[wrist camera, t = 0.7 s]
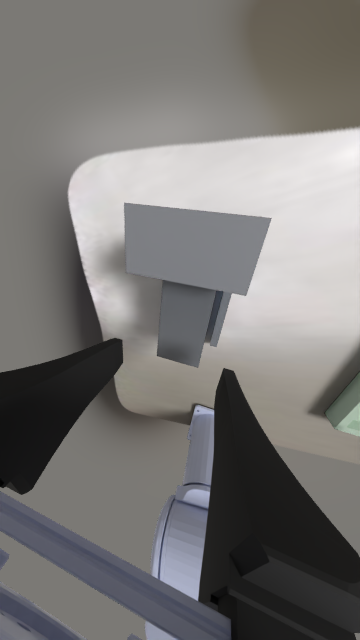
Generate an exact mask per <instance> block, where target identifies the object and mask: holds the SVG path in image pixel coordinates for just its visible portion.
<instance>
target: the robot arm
mask: <svg viewBox="0 0 360 640" xmlns="http://www.w3.org/2000/svg"><path fill="white" fill-rule="evenodd" d="M122 363H123V347H122V340H121V339H117V338H113V339H110V340H107V341H105V342H102V343H100V344H97V345H95V346H92V347H90V348H87V349H84V350H82V351H79V352H76V353H73V354H71V355H68V356H65V357H62V358H59V359H56V360H52V361H49V362H45V363H42V364H38V365H34V366H29V367H25V368H21V369H17V370H12V371H7V372H1V373H0V487H2V488H4V487H8V488H10V489H11V490H14V491H15V492H17V493H19V494H21V495H22V494H25V493H27V492H29V491H30V490H32V489H33V487H34V485H35V483H36V482H37V480H38V479H39V477H40V475H41V474H42V472H43V471H44V469H45V467H46V466H47V464H48V462H49V461H50V459H51V458H52V456H53V455H54V453H55V452H56V450H57V448H58V447H59V446H60V444H61V442H62V441H63V439H64V438H65V436H66V435H67V434H68V432H69V430H70V429H71V428H72V426H73V425H74V423H75V422H76V421H77V419H78V418H79V416H80V415H81V414H82V412H83V411H84V410H85V408H86V407H87V406H88V405H89V403H90V402H91V401H92V400H93V399H94V398H95V397H96V395H97V394H98V393H99V392H100V391H101V390H102V389H103V387H104V386H105V385H106V384H107V383H108V382H109V381H110V379H111V378H112V377H113V376H114V375H115V373H116V372H117V371H118V369H119V368H120V366H121V365H122ZM187 439H188V440H190V446H189V451H188V457H187V462H186V468H185V473H184V478H183V484H182V486H180V485H178V486H177V491H176V495H171V496H170V497H169V498H168V500H167V501H166V502H165V504H164V506H163V507H162V510H161V512H160V515H159V518H158V522H157V526H156V530H155V534H154V539H153V545H152V553H151V575H150V574H148V573H146V572H145V571H143V570H141V569H139V568H137V567H136V566H134V565H132V564H130V563H128V562H127V561H125V560H123V559H121V558H119V557H118V556H116V555H114V554H112V553H110V552H109V551H107V550H105V549H103V548H101V547H100V546H98V545H96V544H94V543H92V542H90V541H89V540H87V539H85V538H83V537H82V536H80V535H78V534H76V533H74V532H73V531H71V530H69V529H67V528H65V527H64V526H62V525H60V524H58V523H56V522H55V521H53V520H51V519H49V518H47V517H46V516H44V515H42V514H40V513H38V512H37V511H35V510H33V509H31V508H30V507H28V506H26V505H24V504H22V503H20V502H19V501H17V500H15V499H13V498H12V497H10V496H8V495H6V494H4V493H2V492H1V491H0V531H1V532H3V533H5V534H6V535H8V536H9V537H11V538H13V539H14V540H16V541H17V542H19V543H21V544H22V545H24V546H26V547H27V548H29V549H31V550H32V551H34V552H35V553H37V554H39V555H40V556H42V557H43V558H45V559H47V560H48V561H50V562H52V563H53V564H55V565H56V566H58V567H60V568H61V569H63V570H65V571H66V572H68V573H69V574H71V575H73V576H74V577H76V578H78V579H79V580H81V581H83V582H84V583H86V584H87V585H89V586H91V587H92V588H94V589H95V590H97V591H99V592H100V593H102V594H104V595H105V596H107V597H108V598H110V599H112V600H113V601H115V602H117V603H118V604H120V605H122V606H123V607H125V608H126V609H128V610H130V611H131V612H133V613H135V614H136V615H138V616H139V617H141V618H143V619H144V620H146V623H145V633H146V637H147V640H356V637H355V634H354V633H360V557H359V555H358V553H357V552H356V551H355V550H354V549H353V547H352V546H351V545H350V544H349V543H348V542H347V540H346V539H345V538H344V537H343V536H342V534H341V533H340V532H339V531H338V530H337V529H336V527H335V526H334V525H333V524H332V523H331V521H330V520H329V519H328V518H327V517H326V515H325V514H324V513H323V512H322V511H321V510H320V508H319V507H318V506H317V505H316V503H315V502H314V501H313V500H312V498H311V497H310V496H309V495H308V493H307V492H306V491H305V489H304V488H303V487H302V486H301V484H300V483H299V482H298V480H297V479H296V478H295V476H294V475H293V473H292V472H291V471H290V469H289V468H288V467H287V465H286V464H285V462H284V461H283V460H282V458H281V457H280V456H279V454H278V453H277V451H276V450H275V448H274V447H273V445H272V444H271V442H270V441H269V439H268V437H267V436H266V434H265V433H264V431H263V429H262V428H261V426H260V424H259V423H258V421H257V419H256V417H255V415H254V414H253V412H252V410H251V408H250V406H249V404H248V402H247V400H246V398H245V396H244V394H243V392H242V389H241V387H240V385H239V383H238V380H237V378H236V375H235V373H234V371H232V370H228V369H225V368H223V371H222V374H221V377H220V380H219V383H218V386H217V389H216V396H215V404H214V410H213V409H210V408H207V407H204V406H201V405H196V406H195V409H194V413H193V417H192V421H191V424H190V428H189V432H188V436H187ZM8 558H9V554H8V553H6V552H4V551H3V550H2V549H0V570H1V569H2V567H3V566H4V564H5V563H6V561H7V560H8ZM0 640H87V639H86V638H85V637H83V636H81V635H80V634H79V633H77V632H76V631H75V630H73V629H72V628H70V627H69V626H67V625H66V624H65V623H63V622H62V621H60V620H58V619H57V618H56V617H54V616H53V615H51V614H50V613H48V612H47V611H45V610H43V609H42V608H40V607H39V606H37V605H36V604H34V603H33V602H31V601H30V600H28V599H26V598H25V597H23V596H22V595H20V594H19V593H17V592H16V591H14V590H12V589H11V588H9V587H8V586H6V585H5V584H3V583H2V582H0ZM127 640H142V639H140V638H139V637H137V636H135V635H133V634H130V636H129V637H128V639H127Z"/></svg>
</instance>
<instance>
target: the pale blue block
mask: <svg viewBox="0 0 360 640" xmlns="http://www.w3.org/2000/svg"><path fill="white" fill-rule="evenodd" d="M215 294H216V290H213V289H208V288H203V287H197V286H192V285H187V284H182V283H177V282H171V281H166V280H163V286H162V299H161V311H160V324H159V336H158V348H157V356H159V357H162V358H166V359H169V360H173V361H176V362H180V363H183V364H187V365H190V366H194V367H197V368H198V366H199V362H200V358H201V353H202V349H203V345H204V341H205V337H206V332H207V328H208V324H209V320H210V316H211V311H212V307H213V303H214V299H215Z"/></svg>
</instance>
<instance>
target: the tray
mask: <svg viewBox="0 0 360 640" xmlns="http://www.w3.org/2000/svg"><path fill="white" fill-rule="evenodd" d="M325 414H326V416H327V417H328V419H329V421H330V422H331V424H332V426H333V427H334V429H337V430H340V431H343V432H347V433H350V434H353V435H356V436H360V372H359V373H358V374H357V376H356V377H355V378H354V379H353V380H352V381H351V383H350V384H349V385H348V386H347V387H346V388H345V390H344V391H343V392H342V393H341V394H340V395H339V397H338V398H337V399H336V400H335V401H334V402H333V404H332V405H331V406H330V407H329V408H328V409H327V411H326V412H325Z"/></svg>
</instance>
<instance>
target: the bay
mask: <svg viewBox="0 0 360 640" xmlns="http://www.w3.org/2000/svg"><path fill="white" fill-rule="evenodd" d="M124 216H125V258H126V273H130V274H135V275H140V276H145V277H151V278H156V279H161V280H166V281H171V282H177V283H182V284H187V285H192V286H197V287H203V288H208V289H213V290H218V291H223V294H222V298H221V302H220V306H219V310H218V314H217V318H216V322H215V325H214V329H213V333H212V337H211V341H210V346H214V347H217V343H218V340H219V336H220V333H221V329H222V326H223V322H224V319H225V315H226V312H227V308H228V305H229V301H230V298H231V294H232V293H234V294H239V295H244V296H246V294H247V291H248V288H249V285H250V282H251V279H252V276H253V273H254V270H255V267H256V264H257V261H258V258H259V255H260V252H261V249H262V246H263V243H264V240H265V237H266V234H267V231H268V228H269V224H270V221H271V218H265V217H256V216H246V215H237V214H227V213H217V212H208V211H198V210H188V209H179V208H169V207H160V206H150V205H140V204H131V203H124Z"/></svg>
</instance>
